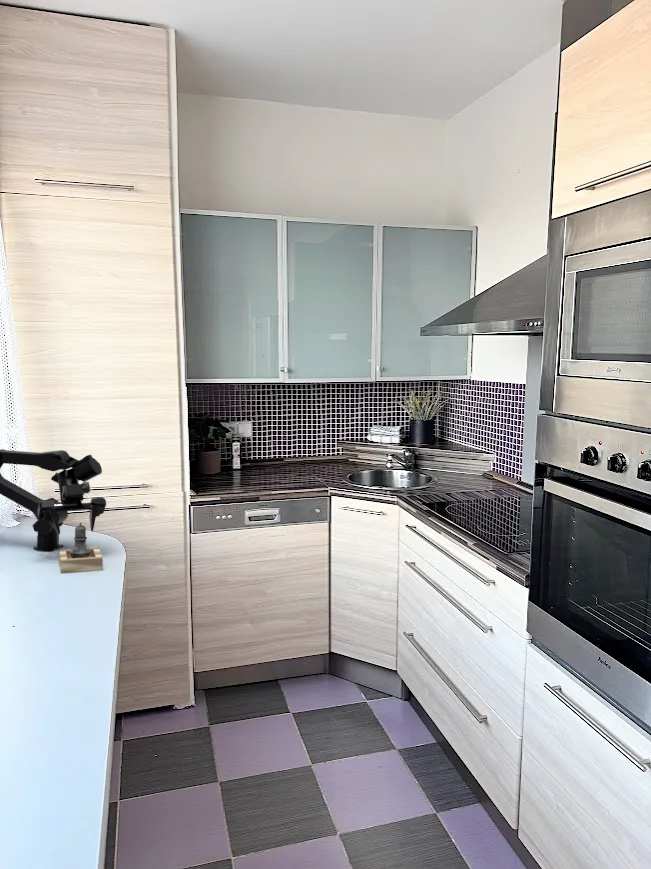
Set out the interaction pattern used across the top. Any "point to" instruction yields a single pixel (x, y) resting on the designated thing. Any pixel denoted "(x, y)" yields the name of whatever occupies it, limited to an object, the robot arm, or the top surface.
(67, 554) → the shaker caddy
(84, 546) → the weathered stone finial
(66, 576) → the top surface
